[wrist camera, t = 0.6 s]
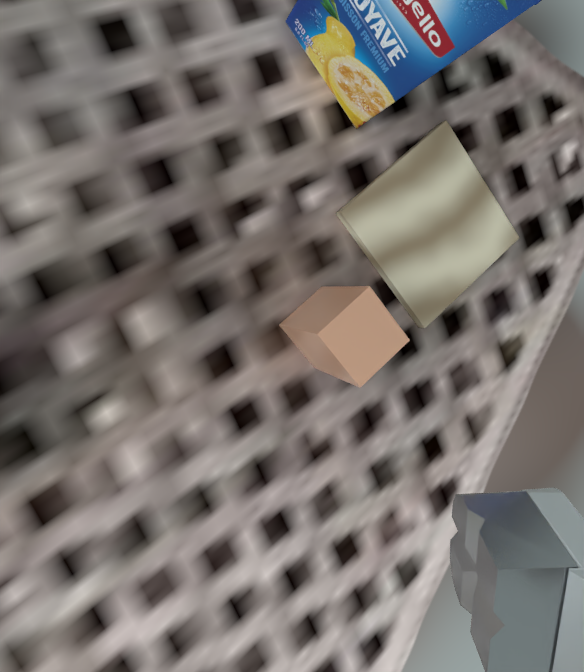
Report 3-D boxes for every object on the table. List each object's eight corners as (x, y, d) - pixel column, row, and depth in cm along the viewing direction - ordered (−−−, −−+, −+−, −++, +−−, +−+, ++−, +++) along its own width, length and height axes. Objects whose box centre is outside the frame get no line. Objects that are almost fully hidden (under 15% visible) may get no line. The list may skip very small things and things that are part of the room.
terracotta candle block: (278, 324, 47) (317, 334, 37) (321, 286, 48) (369, 286, 38) (314, 368, 48) (360, 387, 39) (355, 330, 49) (409, 340, 40)
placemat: (335, 213, 47) (340, 211, 46) (438, 123, 50) (446, 120, 49) (418, 327, 51) (425, 328, 50) (511, 238, 53) (519, 237, 52)
